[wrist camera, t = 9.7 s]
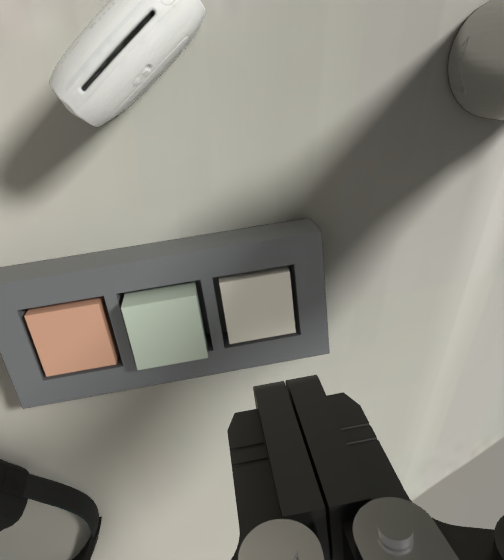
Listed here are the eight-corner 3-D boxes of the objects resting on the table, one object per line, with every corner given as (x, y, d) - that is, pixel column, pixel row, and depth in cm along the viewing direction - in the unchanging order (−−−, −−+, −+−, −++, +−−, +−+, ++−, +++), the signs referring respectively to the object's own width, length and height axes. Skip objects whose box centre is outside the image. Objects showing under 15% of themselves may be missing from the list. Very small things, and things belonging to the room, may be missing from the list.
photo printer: (167, -25, 35) (159, -70, 23) (208, 25, 36) (220, 6, 25) (71, 79, 36) (22, 84, 25) (115, 123, 38) (87, 145, 27)
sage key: (195, 281, 41) (196, 295, 39) (206, 341, 44) (208, 357, 41) (124, 293, 41) (120, 308, 38) (140, 352, 43) (137, 370, 41)
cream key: (283, 259, 43) (289, 271, 41) (289, 317, 46) (295, 332, 43) (217, 270, 43) (219, 283, 40) (226, 328, 45) (229, 344, 43)
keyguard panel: (309, 217, 43) (321, 231, 40) (318, 331, 48) (329, 353, 45) (-8, 268, 41) (-26, 287, 38) (35, 382, 46) (23, 408, 43)
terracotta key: (103, 289, 42) (98, 303, 39) (120, 347, 44) (116, 364, 42) (33, 300, 42) (24, 316, 39) (54, 358, 44) (46, 376, 41)
